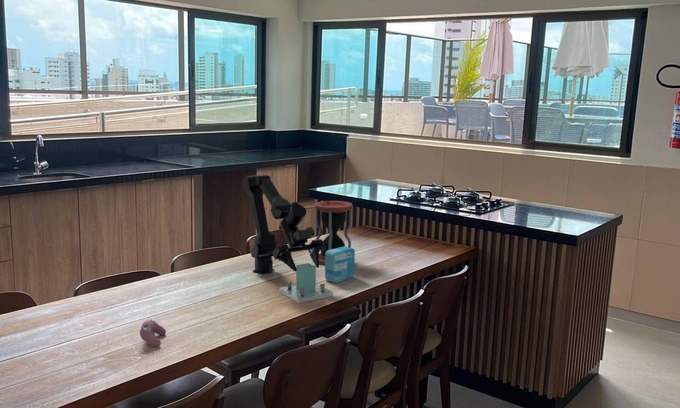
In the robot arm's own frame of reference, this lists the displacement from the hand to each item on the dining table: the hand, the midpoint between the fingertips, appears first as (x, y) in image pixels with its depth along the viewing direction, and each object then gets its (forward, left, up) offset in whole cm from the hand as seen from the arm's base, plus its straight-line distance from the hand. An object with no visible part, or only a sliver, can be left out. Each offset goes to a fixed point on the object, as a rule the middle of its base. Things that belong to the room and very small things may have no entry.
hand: (307, 269), depth 215 cm
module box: (-1, 0, -8) cm, 8 cm away
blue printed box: (0, +22, -10) cm, 24 cm away
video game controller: (-14, -58, -10) cm, 61 cm away
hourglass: (-16, +43, -10) cm, 47 cm away
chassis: (-1, 0, -9) cm, 10 cm away
